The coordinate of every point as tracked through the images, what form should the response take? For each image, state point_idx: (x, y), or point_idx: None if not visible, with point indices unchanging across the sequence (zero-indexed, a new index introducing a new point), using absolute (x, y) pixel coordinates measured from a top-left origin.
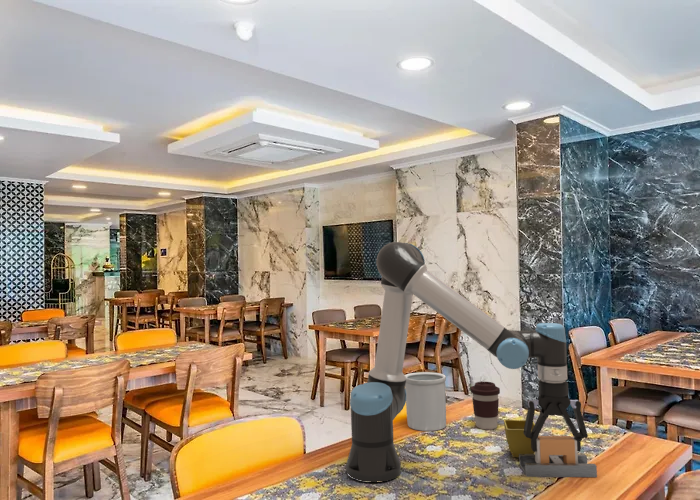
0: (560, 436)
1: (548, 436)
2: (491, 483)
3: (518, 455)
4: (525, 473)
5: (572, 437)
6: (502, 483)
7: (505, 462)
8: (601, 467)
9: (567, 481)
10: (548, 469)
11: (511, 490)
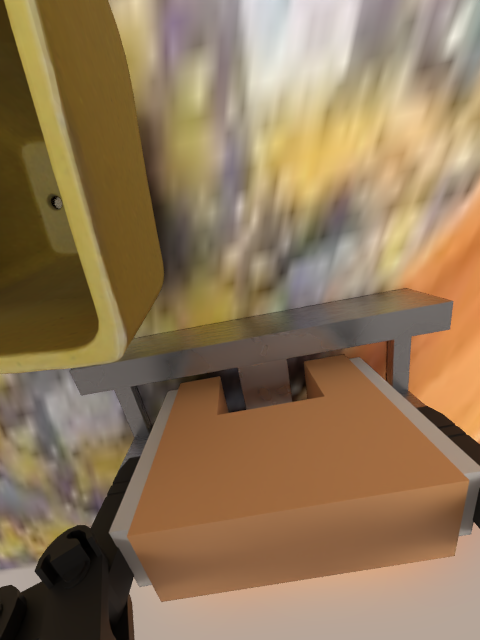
0: (362, 507)
1: (242, 526)
2: (36, 510)
3: (77, 264)
4: (137, 435)
5: (475, 472)
6: (70, 503)
7: None
8: (467, 299)
9: None
10: None
11: None
